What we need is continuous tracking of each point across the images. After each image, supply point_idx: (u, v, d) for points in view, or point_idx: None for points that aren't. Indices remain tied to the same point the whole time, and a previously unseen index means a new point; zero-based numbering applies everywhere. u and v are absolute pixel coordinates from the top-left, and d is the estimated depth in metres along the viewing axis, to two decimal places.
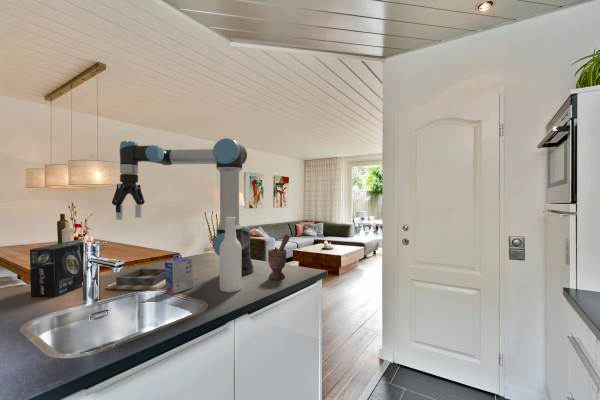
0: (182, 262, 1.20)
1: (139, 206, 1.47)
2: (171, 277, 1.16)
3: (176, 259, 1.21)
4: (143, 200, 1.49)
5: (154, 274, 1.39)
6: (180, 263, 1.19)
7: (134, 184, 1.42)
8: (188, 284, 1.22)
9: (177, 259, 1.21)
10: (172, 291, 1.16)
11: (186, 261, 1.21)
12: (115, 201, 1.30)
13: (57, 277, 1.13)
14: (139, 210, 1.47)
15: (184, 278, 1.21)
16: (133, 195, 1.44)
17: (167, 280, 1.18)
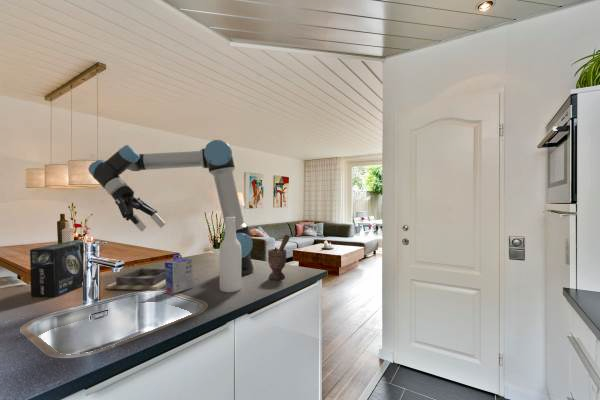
0: (182, 262, 1.20)
1: (155, 215, 1.29)
2: (171, 277, 1.16)
3: (176, 259, 1.21)
4: (155, 209, 1.32)
5: (154, 274, 1.39)
6: (180, 263, 1.19)
7: (133, 197, 1.25)
8: (188, 284, 1.22)
9: (177, 259, 1.21)
10: (172, 291, 1.16)
11: (186, 261, 1.21)
12: (125, 213, 1.13)
13: (57, 277, 1.13)
14: (158, 218, 1.29)
15: (184, 278, 1.21)
16: (141, 208, 1.26)
17: (167, 280, 1.18)
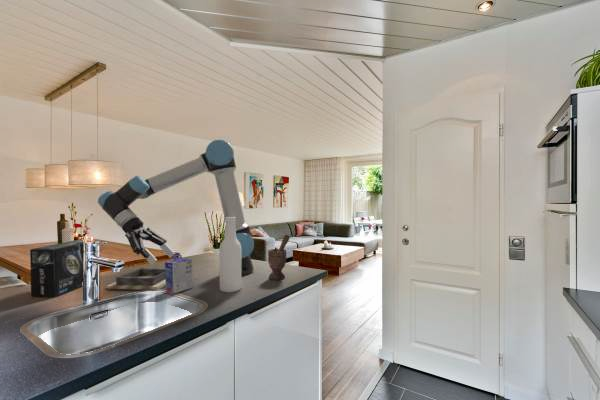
0: (182, 262, 1.20)
1: (164, 245, 1.28)
2: (171, 277, 1.16)
3: (176, 259, 1.21)
4: (164, 239, 1.31)
5: (154, 274, 1.39)
6: (180, 263, 1.19)
7: (142, 228, 1.24)
8: (188, 284, 1.22)
9: (177, 259, 1.21)
10: (172, 291, 1.16)
11: (186, 261, 1.21)
12: (135, 248, 1.12)
13: (57, 277, 1.13)
14: (167, 248, 1.28)
15: (184, 278, 1.21)
16: (150, 239, 1.26)
17: (167, 280, 1.18)
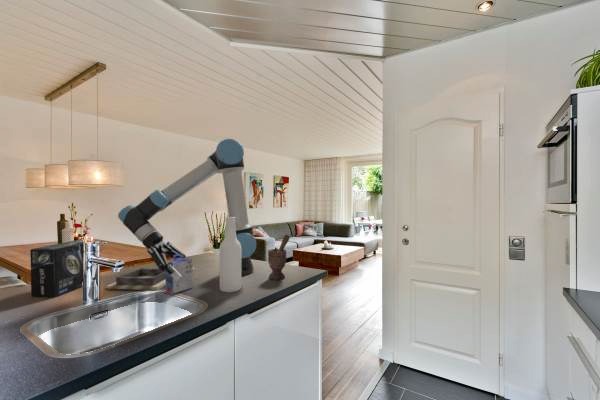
0: (182, 262, 1.20)
1: None
2: (171, 277, 1.16)
3: (176, 259, 1.21)
4: (183, 254, 1.30)
5: (154, 274, 1.39)
6: (180, 263, 1.19)
7: (162, 242, 1.24)
8: (188, 284, 1.22)
9: (177, 259, 1.21)
10: (172, 291, 1.16)
11: (186, 261, 1.21)
12: (161, 264, 1.13)
13: (57, 277, 1.13)
14: None
15: (184, 278, 1.21)
16: (170, 254, 1.25)
17: (167, 280, 1.18)
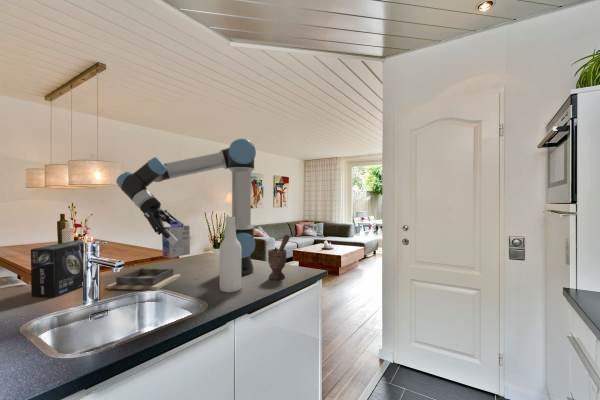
0: (179, 227, 1.20)
1: None
2: (167, 242, 1.17)
3: (173, 225, 1.21)
4: (181, 222, 1.30)
5: (154, 274, 1.39)
6: (177, 228, 1.19)
7: (160, 209, 1.25)
8: (184, 250, 1.22)
9: (174, 225, 1.21)
10: (168, 255, 1.16)
11: (183, 227, 1.22)
12: (157, 228, 1.13)
13: (56, 277, 1.13)
14: None
15: (181, 244, 1.21)
16: (167, 220, 1.25)
17: (164, 245, 1.18)
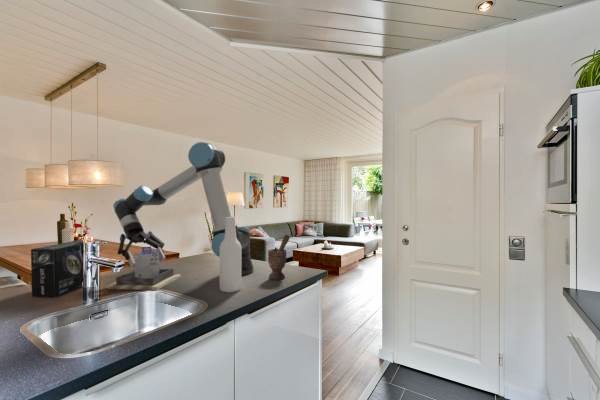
0: (146, 254, 1.30)
1: (158, 249, 1.38)
2: None
3: (144, 251, 1.32)
4: (162, 242, 1.41)
5: None
6: (144, 255, 1.30)
7: (141, 232, 1.39)
8: (152, 275, 1.31)
9: (145, 251, 1.32)
10: None
11: (151, 254, 1.31)
12: (119, 250, 1.26)
13: (56, 277, 1.13)
14: (160, 252, 1.37)
15: (148, 270, 1.30)
16: (147, 242, 1.38)
17: None
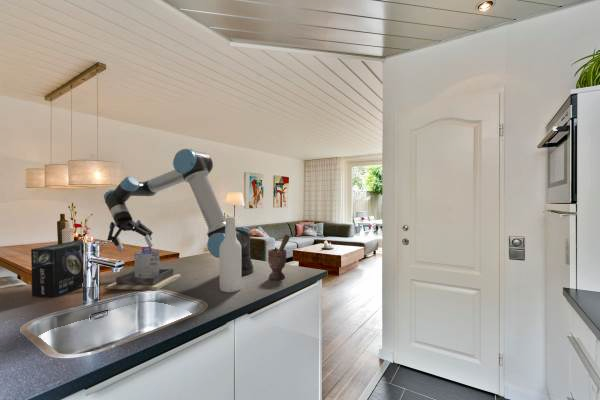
0: (146, 254, 1.30)
1: (146, 236, 1.46)
2: None
3: (144, 251, 1.32)
4: (150, 231, 1.50)
5: None
6: (144, 255, 1.30)
7: (130, 220, 1.47)
8: (152, 275, 1.31)
9: (145, 251, 1.32)
10: None
11: (151, 254, 1.31)
12: (108, 236, 1.34)
13: (56, 277, 1.12)
14: (148, 239, 1.45)
15: (148, 270, 1.30)
16: (136, 230, 1.47)
17: None
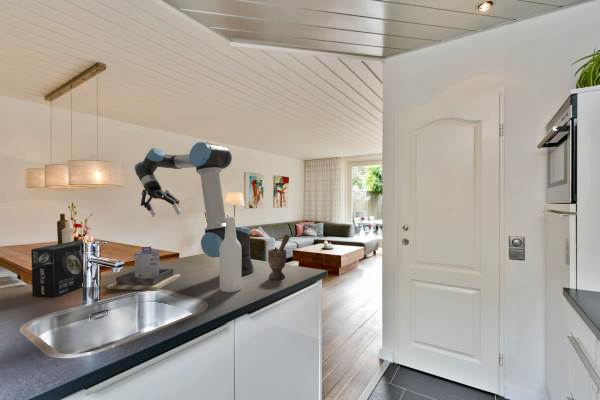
0: (146, 254, 1.30)
1: (174, 204, 1.57)
2: None
3: (144, 251, 1.32)
4: (177, 200, 1.60)
5: None
6: (144, 255, 1.30)
7: (159, 190, 1.57)
8: (152, 275, 1.31)
9: (145, 251, 1.32)
10: None
11: (151, 254, 1.31)
12: (141, 202, 1.44)
13: (56, 277, 1.12)
14: (176, 207, 1.56)
15: (148, 270, 1.30)
16: (165, 199, 1.57)
17: None
